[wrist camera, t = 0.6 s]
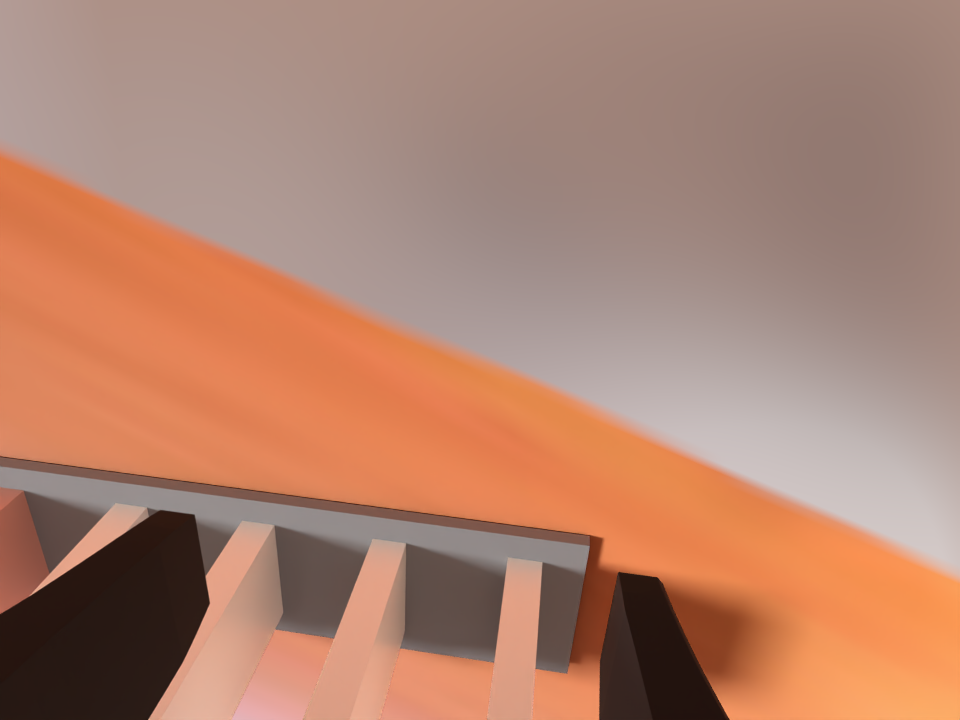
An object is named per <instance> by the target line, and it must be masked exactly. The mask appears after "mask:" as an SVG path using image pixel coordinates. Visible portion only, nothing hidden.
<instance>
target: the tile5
mask: <svg viewBox="0 0 960 720" xmlns="http://www.w3.org/2000/svg"><path fill="white" fill-rule="evenodd" d="M48 575H49V570H48V567H47V564H46V561H45V558H44V554H43V551H42V548H41V545H40V542H39V538H38V535H37V532H36V529H35V526H34V522H33V519H32V516H31V513H30V510H29V506H28V503H27V500H26V497H25V494H24V490H16V489H9V488H2V487H0V614H1V613H3V612H4V611H6V610H8V609H9V608H11V607H13V606H14V605H16V604H17V603H19V602H21V601H22V600H24V599H26V598H27V597H29V596H30V595H31V594H32V593H33V591H34V590H35V589H36V588H37V587H38V586H39V585H40V584H41V583H42V582H43V581H44V580H45V579H46V578H47V576H48Z"/></svg>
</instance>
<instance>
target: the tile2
mask: <svg viewBox="0 0 960 720" xmlns="http://www.w3.org/2000/svg"><path fill="white" fill-rule="evenodd" d="M405 590H406V543H400V542H393V541H386V540H378V539H372V542H371V545H370V547H369V550H368V552H367V555H366V558H365V560H364V563H363V565H362V568H361V571H360V573H359V576H358V578H357V581H356V583H355V586H354V589H353V591H352V594H351V596H350V599H349V602H348V604H347V607H346V609H345V612H344V614H343V617H342V620H341V622H340V625H339V627H338V630H337V633H336V635H335V638H334V640H333V643H332V645H331V648H330V651H329V653H328V656H327V658H326V661H325V664H324V666H323V669H322V671H321V674H320V676H319V679H318V682H317V684H316V687H315V689H314V692H313V695H312V697H311V700H310V702H309V705H308V707H307V710H306V713H305V715H304V718H303V720H380V719H381V715H382V711H383V708H384V704H385V701H386V697H387V694H388V690H389V686H390V683H391V679H392V676H393V672H394V668H395V665H396V661H397V658H398V654H399V650H400V647H401V643H402V640H403V636H404V632H405Z"/></svg>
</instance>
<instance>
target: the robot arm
mask: <svg viewBox="0 0 960 720" xmlns="http://www.w3.org/2000/svg"><path fill="white" fill-rule="evenodd" d="M209 605H210V599H209V594H208V588H207V582H206V576H205V570H204V565H203V559H202V553H201V547H200V541H199V536H198V530H197V524H196V518H195V514H188V513H180V512H173V511H166V510H159V511H158V512H156V513H154V514H153V515H151V516H150V517H148V518H146V519H145V520H143V521H142V522H140V523H139V524H137V525H136V526H134V527H133V528H131V529H130V530H128V531H127V532H125V533H124V534H122V535H121V536H119V537H118V538H116V539H115V540H113V541H112V542H110V543H109V544H108V545H106V546H105V547H103V548H102V549H100V550H99V551H97V552H96V553H94V554H93V555H91V556H90V557H88V558H87V559H85V560H84V561H82V562H81V563H79V564H78V565H76V566H75V567H73V568H72V569H70V570H69V571H67V572H66V573H64V574H63V575H61V576H60V577H58V578H56V579H55V580H53V581H52V582H50V583H49V584H47V585H46V586H44V587H43V588H41V589H40V590H38V591H37V592H35V593H34V594H32V595H31V596H29V597H27V598H26V599H24V600H22V601H21V602H19V603H17V604H16V605H14V606H13V607H11V608H9V609H8V610H6V611H4V612H3V613H1V614H0V720H148V719H149V718H150V716H151V714H152V713H153V711H154V710H155V708H156V706H157V705H158V703H159V701H160V700H161V698H162V696H163V695H164V693H165V692H166V690H167V688H168V687H169V685H170V683H171V682H172V680H173V678H174V677H175V675H176V673H177V672H178V670H179V668H180V667H181V665H182V663H183V661H184V659H185V657H186V655H187V653H188V651H189V649H190V647H191V645H192V643H193V640H194V638H195V636H196V634H197V632H198V630H199V627H200V625H201V623H202V620H203V618H204V616H205V614H206V611H207V609H208V607H209ZM599 720H729V718H728V716H727V714H726V713H725V711H724V709H723V707H722V705H721V703H720V702H719V700H718V698H717V696H716V694H715V692H714V691H713V689H712V687H711V685H710V683H709V681H708V680H707V678H706V676H705V674H704V672H703V670H702V668H701V666H700V664H699V662H698V660H697V658H696V656H695V654H694V652H693V650H692V648H691V646H690V644H689V642H688V640H687V638H686V636H685V634H684V632H683V629H682V627H681V625H680V623H679V621H678V619H677V616H676V614H675V612H674V610H673V607H672V605H671V603H670V600H669V598H668V595H667V593H666V590H665V588H664V585H663V584H662V582H661V581H660V580H659V579H658V578H657V577H650V576H643V575H636V574H628V573H621V572H618V576H617V581H616V586H615V591H614V595H613V600H612V605H611V610H610V615H609V620H608V625H607V630H606V634H605V639H604V644H603V649H602V654H601V659H600V708H599Z"/></svg>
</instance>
